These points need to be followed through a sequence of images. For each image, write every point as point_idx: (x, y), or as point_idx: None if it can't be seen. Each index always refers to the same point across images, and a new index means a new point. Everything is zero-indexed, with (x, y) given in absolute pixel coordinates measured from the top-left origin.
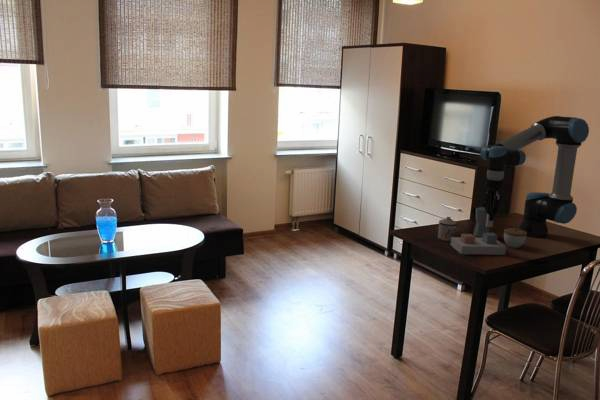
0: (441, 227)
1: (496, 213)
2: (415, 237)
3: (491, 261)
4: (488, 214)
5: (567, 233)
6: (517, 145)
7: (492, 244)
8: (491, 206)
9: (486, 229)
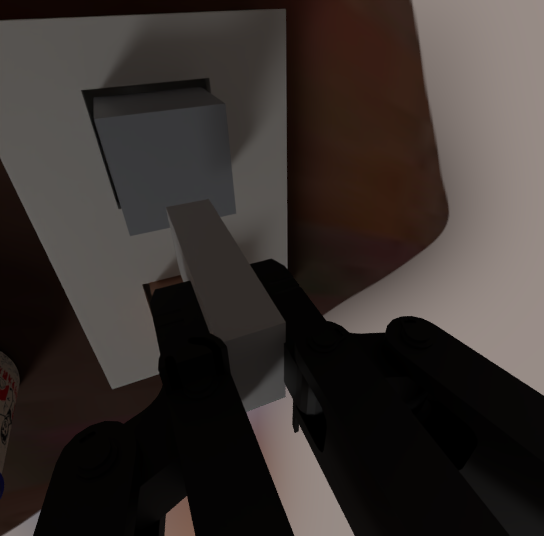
0: None
1: (426, 322)
2: (24, 488)
3: (373, 175)
4: (280, 389)
5: None
6: None
7: (233, 138)
8: None
9: None
